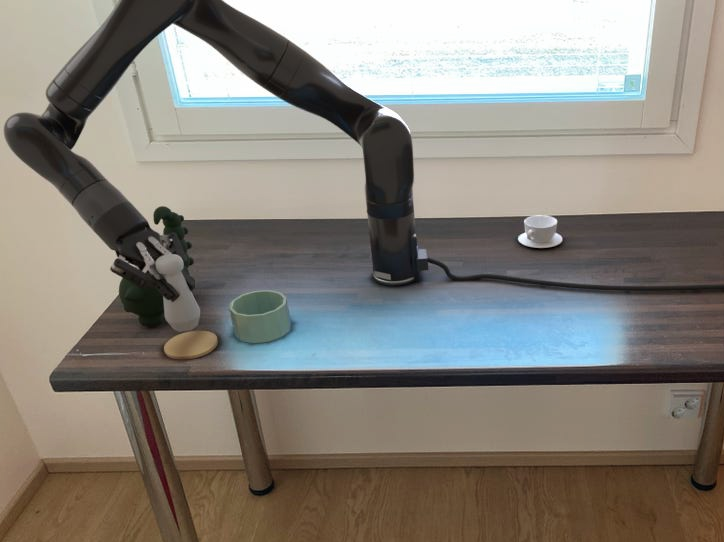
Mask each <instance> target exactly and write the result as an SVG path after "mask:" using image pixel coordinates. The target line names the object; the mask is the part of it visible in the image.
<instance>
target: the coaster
mask: <svg viewBox="0 0 724 542" xmlns="http://www.w3.org/2000/svg"><path fill="white" fill-rule="evenodd" d="M218 343H219V340H218V336H217V335H216V334H215V333H213V332H212V331H208V330H189V331H184V332H182V333H179V334H177V335H175V336H173V337H171V338H170V339H168V341H166V342H165V344H164V346H163V351H164V354H165V356H167V357H169V358H170V359H173V360H182V361H183V360H192V359H196V358H200V357H203V356H205V355H208V354H209V353H211V352H212V351H214V350H215V349H216V348H217V346H218Z"/></svg>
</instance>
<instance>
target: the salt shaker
mask: <svg viewBox="0 0 724 542" xmlns="http://www.w3.org/2000/svg"><path fill="white" fill-rule="evenodd" d="M155 265H156V269H157V271H158V272H159V273H160V274H162V279H163V278H165V279H166V281H167V283H169V284H171V285H172V286H173V287H174V288H175V289H176V290H177V292H178V293H179V295H180V296H179V297H178V298H177V299H176V300H175V301H174V302H171V300H167V299H166V298H165V297H164V296H163V300H164V313H163V314H164V319H165V321H166V322H167V323H168V325H170V327H171V328H172V329H173V330H175V331H177V332H180V333H181V332H190V331H193V330H194V329H195V328H196V327H198V326H199V322H200V318H201V308H200V306H199V304H198V302H197V301H196V298H195V297H194V294H193V292H192V291H190V289H189V287H188V285H187V282H186V280H185V278H184V276H183V274H182V272H181V270H183V267H184V263H183V260H182V258H181V257H180V256H178V255H176V254H167V255H163V256H161V257H159V258H158V259H157V260H156V262H155Z"/></svg>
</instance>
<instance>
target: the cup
mask: <svg viewBox="0 0 724 542" xmlns="http://www.w3.org/2000/svg"><path fill="white" fill-rule="evenodd" d="M228 310H229V315H230V319H231V323H232V327H233V333H234V336H235V337H237V339H238V340H239V341H240V342H245V343H249V344H264V343H269V342H273V341H275V340H278V339H281V338H283V337H284V336H285V335H287V334H288V333H289V332H290V331H291V327H292V320H291V314H290V309H289V303H288V297H287V296H286V295H284V294H283V293H282V292H281V291H276V290H270V289H265V290H263V289H262V290H253V291H250V292H247V293H244V294H240V295H239V296H237V297H236V298H234V299H233V300H231V301H230V303H229V307H228Z"/></svg>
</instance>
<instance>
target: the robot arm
mask: <svg viewBox="0 0 724 542" xmlns="http://www.w3.org/2000/svg"><path fill="white" fill-rule="evenodd" d="M172 25H174V26H177V27H178V28H180V29H182V30H184V31H186V32H187V33H189V34H191V35H193V36H195V37H196V38H198V39H200V40H201V41H203V42H205V43H206V44H208V45H209V46H210V47H211V48H213V49H214V50H215V51H216V52H218V53H219V54H220V55H221V56H222V57H224V59H225V60H227V61H228V62H229V63H230V64H231V65H232V66H234V67H235V68H236V69H237V70H238V71H240V72H241V73H242V74H243V75H244V76H246V77H247V78H248V79H250V81H252V82H254V83H255V84H257V85H258V86H260V87H261V88H262V89H264V90H265V91H267V92H268V93H270V94H271V95H273V96H275V97H276V98H278V99H280V100H282V101H283V102H285V103H286V104H289V105H291V106H293V107H294V108H297V109H300V110H302V111H304V112H307V113H309V114H312V115H315V116H318V117H320V118H322V119H325V120H326V121H327V122H330V123H331V124H333V126H335V127H337V128H338V129H340V130H341V131H342V132H343V133H345V134H346V135H348V136H349V137H350V138H351V139H352V140H354V141H355V142H356V143H357V144H358V145H359V146H360V147H361V149H362V156H363V165H364V174H365V176H364V177H365V180H364V181H365V183H364V193H365V194H364V195H365V203H366V204H365V205H366V213H367V224H368V233H369V234H368V235H369V243H370V252H371V253H370V254H371V262H372V276H373V277H372V278H373V280H374V282H376V283H377V284H379V285H383V286H390V287H391V286H392V287H397V286H398V287H399V286H405V285H407V284H410V283H413V282H419V281H420V272H423V271H429V264H431V265H435V266H438V267H439V268H440V269H442V270H443V271H444V273H445V275H446V277H448V278H449V279H451V280H454V281H457V282H458V281H459V282H460V281H461V282H462V281H463V282H464V281H475V280H482V279H483V280H484V279H485V280H486V279H488V280H499V281H507V282H511V283H513V282H514V283H519V284H528V285H538V286H547V287H556V288H566V289H577V290H578V289H579V290H595V291H616V292H617V291H620V292H621V291H622V292H656V291H657V292H658V291H659V292H660V291H661V292H664V291H665V292H667V291H670V292H671V291H702V290H703V291H704V290H705V291H707V290H724V283H718V284H717V283H716V284H715V283H714V284H713V283H712V284H682V285H679V284H678V285H677V284H675V285H614V284H613V285H612V284H609V285H608V284H591V283H589V284H588V283H577V282H576V283H574V282H563V281H554V280H553V281H552V280H543V279H534V278H527V277H526V278H525V277H517V276H511V275H504V274H496V273H495V274H494V273H477V274H472V275H466V276H465V275H464V276H461V275H456V274H453V273H452V272H451V270H450V268H449V267H448V266H447V265H446V264H445V263H444V262H442V261H440V260H437V259H434V258H432V257H429V256H428V252H427V249H426V248H418V239H417V238H418V237H417V231H416V219H415V218H416V217H415V203H414V184H415V169H414V168H415V167H414V165H415V164H414V163H415V162H414V147H413V137H412V133H411V131H410V128H409V127H408V125H407V124H406V122H405V121H404V120H403V119H402V118H401V117H400V115H399V114H398V113H397V112H395V111H393V110H392V109H390V108H388V107H386V106H384V105H381V103H378V102H376V101H374V100H372V99H371V98H369V97H368V96H365V95H363V94H362V93H360V92H358V91H357V90H355V89H353V88H352V87H351V86H349V85H348V84H346V83H345V82H344V81H342V79H340V78H339V77H338V76H337V75H336V74H335V73H333V71H331V70H330V69H329V68H327V66H325V65H324V64H323V63H321V62H320V61H319V60H318V59H316V58H315V57H314V56H312V55H311V54H309V52H307V51H305V50H304V49H303V48H301V47H300V46H298V45H297V44H296V43H294V42H292V41H291V40H290V39H288V38H287V37H286V36H284V35H282V34H281V33H279V32H277V31H275V30H274V29H273V28H271V27H269V26H268V25H266V24H264V23H262V22H261V21H259V20H257V19H256V18H253V17H251V16H250V15H248V14H246V13H244V12H242V11H240V10H238V9H236V8H234V7H233V6H231V5H230V4H228V3H227V2H226V1H225V0H118V1H117V3H116V4H115V6H114V8H113V10H112V11H111V13H109V15H108V16H107V17H106V18H105V20H104V21H103V23H102V24H101V25H100V27H99V28H98V29H97V30H96V31H95V32H94V33H93V34H92V35H91V37H89V39H87V40H86V42H85V43H83V45H82V46H80V47H79V49H77V51H76V52H75V53H74V54H73V55H72V56H71V57H70V59H68V61H66V63H65V64H64V65H63V67H62V68H61V69H60V70H59V71H58V72H57V74H56V75H55V76H54V77H53V79H52V80H51V81H50V83H49V84H48V85H47V87H46V89H45V98H46V99H47V102H48V104H47V107H46V108H45V110H44V112H43V113H42V114H36V113H33V112H26V111H23V112H22V111H21V112H16V113H14V114H12V115H10V116H9V117H8V118H7V119H6V120H5V122H4V125H3V136H4V140H5V142H6V144H7V146H8V147H9V149H10V150H11V152H12V153H13V154H14V155H15V156H16V157H17V158H18V159H19V160H20V161H21V162H22V163H24V164H25V165H26V166H27V167H29V168H30V169H31V170H33V171H34V172H35V173H36V174H37V175H39V176H40V177H41V178H43V179H44V180H45V181H47V182H49V183H50V184H51V185H52V186H53V187H54V188H55V189H56V190H57V191H58V192H59V194H60V195H61V196H62V197H63V198H64V199H65V200H66V201H67V202H68V203H69V204H70V206H72V207H73V209H74V210H75V212H76V213H77V214H78V215H79V217H80V219H82V220H83V221H84V223H85V224H86V225H87V226H88V227H89V228H90V229H91V230H92V232H94V233H95V234H96V235H97V236H98V238H100V240H101V241H102V242H103V243H104V244H105V245H106V246H107V248H109V249H110V250H111V251H114V252H115V255H116V257H117V258H115V259H114V261H113V263H112V264H111V266H110V268H109V271H110V272H112V273H113V274H115V275H117V276H118V277H120V278H121V279H122V278H124V279H126V280H128V281H130V282H131V283H133V284H135V285H137V286H139V287H141V288H145V287H146V286H153V287H155V288H156V289H157V290H158V291H159V292H160V293H161V294H162V295H163V296H164V297H165V298H166V299H167V300H171V302H174V301H175V300H176V299H177V298H178V297H179V296H180V295H179V293H178V292H177V290H176V289H175V288H174V287H173V286H172V285H171V284H169V283H167V281H166V279H165V278H163V279H162V275H161V274H160V273H159V272H158V271H157V269H156V265H155V262H156V260H157V259H158V258H159V257H161V256H163V255H167V254H176V255H178V256H180V257H181V258H182V260H183V263H185V262H186V260H187V258H186V256H185V253H184V251H183V248H182V246H181V244H180V241H179V239H178V236H177V234H176V233H175V232H171V233H170V234H169V235H163V234H160V233H159V232H157V231H156V230H154V229H153V228H152V227H151V226H150V223H149V221H148V220H147V218H146V217H145V216H144V215H143V214H142V213H141V212H140V211H139V210H138V209H137V208H136V206H134V204H132V202H131V201H130V200H129V199H128V198H127V197H126V196H125V195H124V194H123V192H121V190H119V188H117V187H116V186H114V184H113V183H111V182H110V181H109V180H108V179H107V178H106V177H105V175H103V173H102V172H101V170H99V169H98V168H97V167H96V166H95V165H94V164H93V163H92V162H91V161H90V160H88V158H85V156H82V155H79V154H78V153H75V152H74V151H72V150H73V148H75V146H76V144H77V142H78V140H79V139H80V137H81V134H82V133H83V130H84V129H85V126H86V123H87V121H88V119H89V117H90V116H91V115H92V114H93V113H94V112H95V111H96V109H98V107H99V106H101V104H102V102H103V101H104V100H105V99H106V98H107V96H108V95H109V94H110V93H111V92H112V90H113V89H114V88H115V87H116V85H117V84H118V83H119V81H120V80H121V78H122V77H123V76H124V74H125V73H126V72H127V70H128V69H129V67H130V66H131V65H132V63H134V61H135V60H136V58H137V57H138V56H139V55H140V53H141V52H142V51H143V50H144V49H145V48H146V47H147V46H148V45H149V44H150V43H151V42H152V41H153V40H155V39H156V37H158V36H159V35H160V34H162V33H163V32H164V31H166V29H168V28H169V27H171V26H172ZM166 248H167V249H168V250H167V249H166ZM135 267H136V268H135ZM181 272H182V274H183V276H184V278H185V280H186V282H187V285H188V287H189V289H190V291H191V292H192V291H193V290H194V289H195V287H196V285H195V284H194V281H193V280H192V278H191V277H192V276H191V277H190V274H189V275H188V274H187V273H186V272H185V271H184V270H181Z"/></svg>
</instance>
